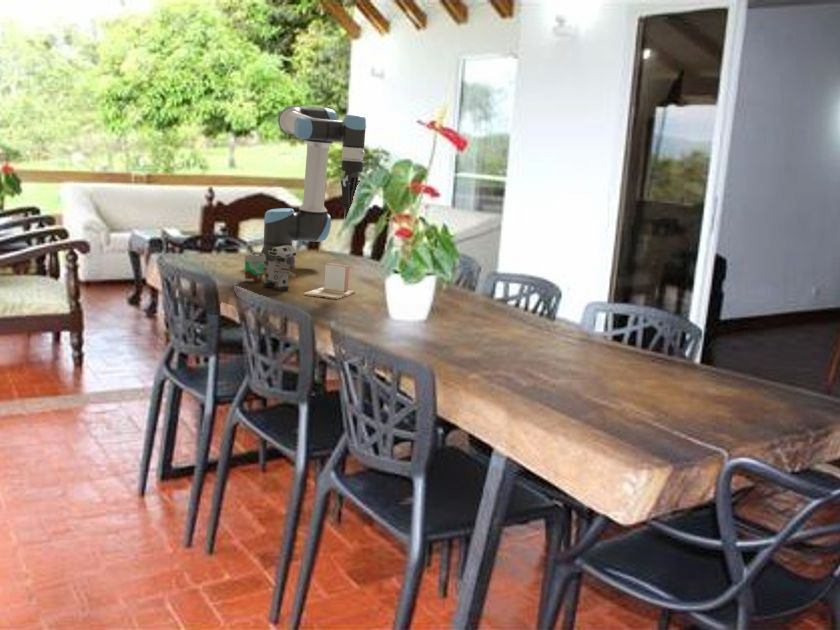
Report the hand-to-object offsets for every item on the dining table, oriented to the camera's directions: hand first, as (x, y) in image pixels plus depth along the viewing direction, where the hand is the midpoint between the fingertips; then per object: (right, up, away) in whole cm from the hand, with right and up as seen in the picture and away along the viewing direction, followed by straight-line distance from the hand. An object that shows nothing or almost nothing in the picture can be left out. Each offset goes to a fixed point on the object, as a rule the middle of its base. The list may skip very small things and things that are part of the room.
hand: (348, 227), depth 298 cm
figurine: (-23, -22, -4) cm, 32 cm away
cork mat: (-6, -24, -7) cm, 26 cm away
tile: (-4, -22, -3) cm, 23 cm away
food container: (-34, -19, +6) cm, 39 cm away
